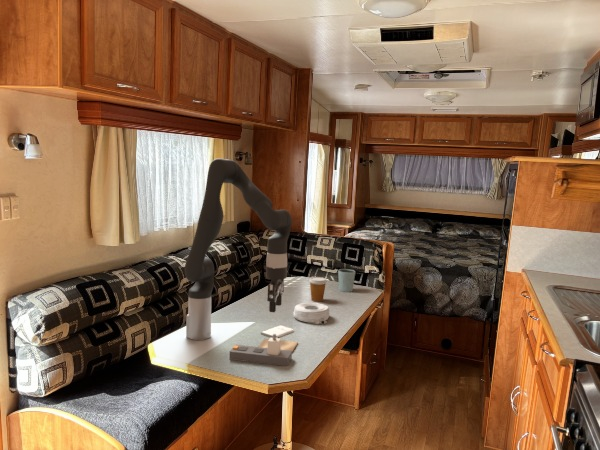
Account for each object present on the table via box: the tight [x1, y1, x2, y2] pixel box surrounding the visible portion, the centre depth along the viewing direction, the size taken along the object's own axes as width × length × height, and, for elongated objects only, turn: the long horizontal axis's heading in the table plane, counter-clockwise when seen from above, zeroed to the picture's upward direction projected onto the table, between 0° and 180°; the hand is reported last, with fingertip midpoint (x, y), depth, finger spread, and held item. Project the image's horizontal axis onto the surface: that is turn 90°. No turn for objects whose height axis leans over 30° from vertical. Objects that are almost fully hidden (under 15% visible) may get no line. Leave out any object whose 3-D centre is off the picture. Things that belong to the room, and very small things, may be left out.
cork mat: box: [257, 338, 299, 353], centre depth 185 cm, size 14×10×1 cm
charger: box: [267, 334, 282, 356], centre depth 170 cm, size 4×4×10 cm
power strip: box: [229, 344, 293, 367], centre depth 171 cm, size 22×7×4 cm, turn 78°
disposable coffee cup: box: [308, 276, 327, 303], centre depth 252 cm, size 10×10×12 cm
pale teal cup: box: [337, 268, 356, 293], centre depth 276 cm, size 10×10×12 cm
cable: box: [292, 302, 330, 325], centre depth 222 cm, size 18×18×6 cm
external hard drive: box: [260, 325, 295, 338], centre depth 200 cm, size 2×8×12 cm
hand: (275, 308), depth 168 cm, fingers open, 8 cm apart
